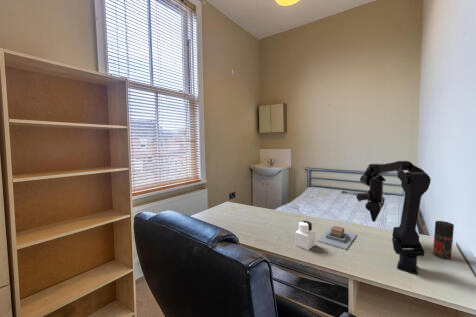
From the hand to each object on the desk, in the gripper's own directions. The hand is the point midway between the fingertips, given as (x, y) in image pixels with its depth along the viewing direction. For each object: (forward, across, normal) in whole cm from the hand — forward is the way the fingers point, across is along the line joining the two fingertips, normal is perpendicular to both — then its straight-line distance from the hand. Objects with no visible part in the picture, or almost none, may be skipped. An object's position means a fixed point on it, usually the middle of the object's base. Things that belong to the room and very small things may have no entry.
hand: (374, 218), depth 111 cm
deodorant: (+12, -2, +26) cm, 29 cm away
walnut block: (+11, +8, -16) cm, 21 cm away
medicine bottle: (+12, +26, -26) cm, 38 cm away
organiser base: (+12, +8, -16) cm, 21 cm away
